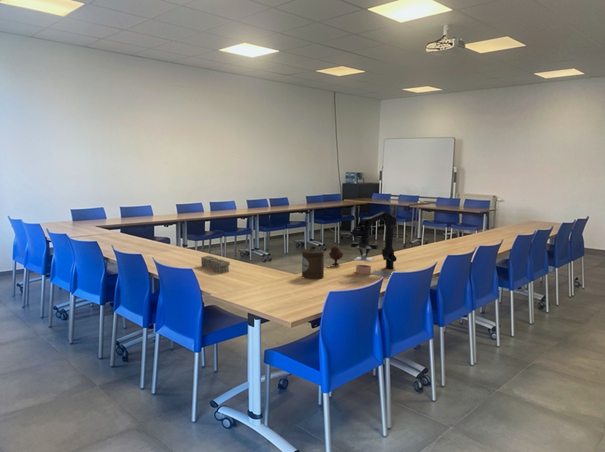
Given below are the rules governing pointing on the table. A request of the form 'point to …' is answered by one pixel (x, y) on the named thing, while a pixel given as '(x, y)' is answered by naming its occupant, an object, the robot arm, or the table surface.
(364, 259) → the lid
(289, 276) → the table surface
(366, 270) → the bowl
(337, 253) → the brown egg chair
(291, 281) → the table surface
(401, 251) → the table surface
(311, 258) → the wooden container
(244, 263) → the table surface
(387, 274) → the mat
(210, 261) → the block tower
